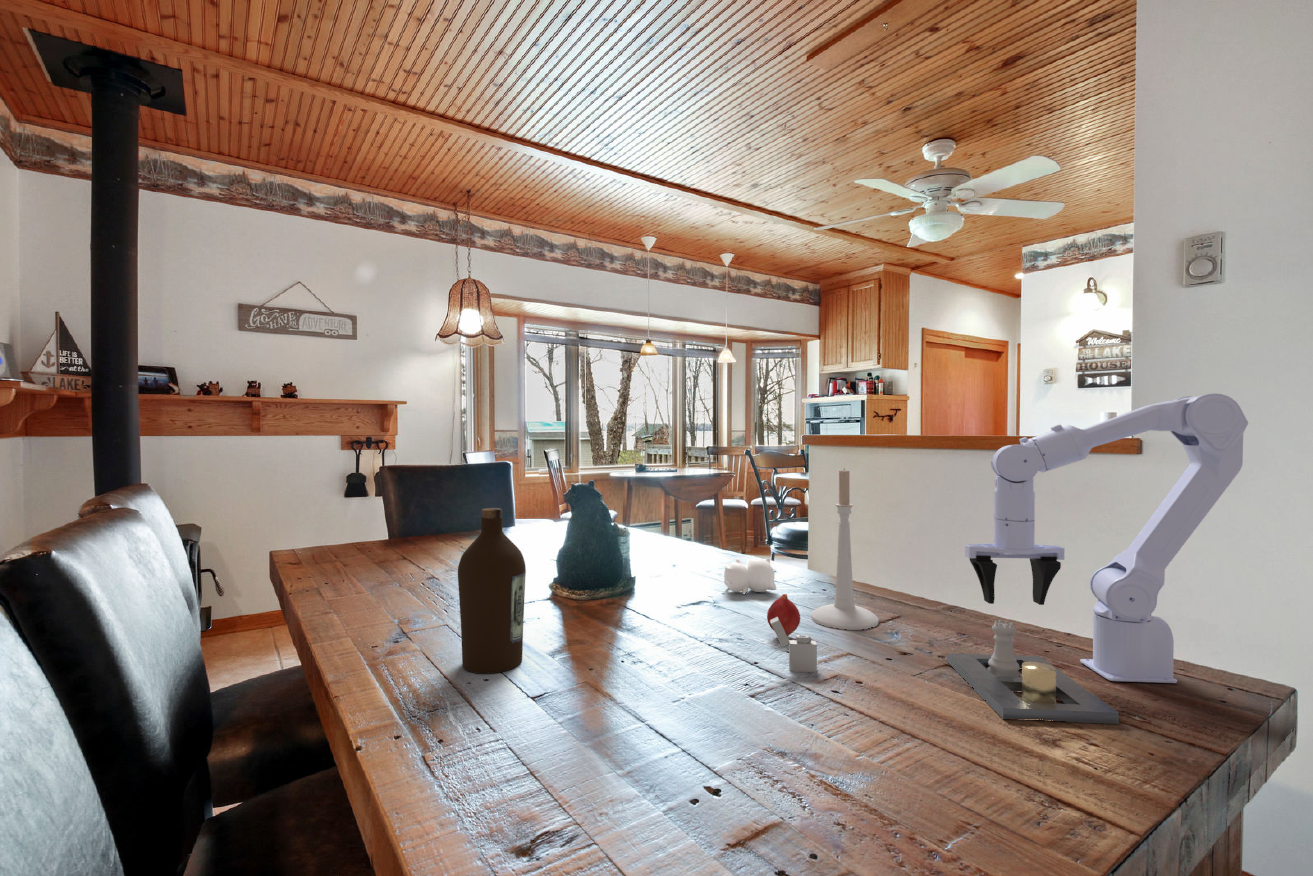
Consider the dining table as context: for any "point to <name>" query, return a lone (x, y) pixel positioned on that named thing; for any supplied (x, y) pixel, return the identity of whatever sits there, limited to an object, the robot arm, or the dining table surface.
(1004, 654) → the rook chess piece
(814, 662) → the lighter
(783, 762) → the dining table surface
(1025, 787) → the dining table surface
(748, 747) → the dining table surface
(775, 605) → the onion
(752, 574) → the cat figurine
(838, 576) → the candlestick
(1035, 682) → the bolt plate
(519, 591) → the olive oil
